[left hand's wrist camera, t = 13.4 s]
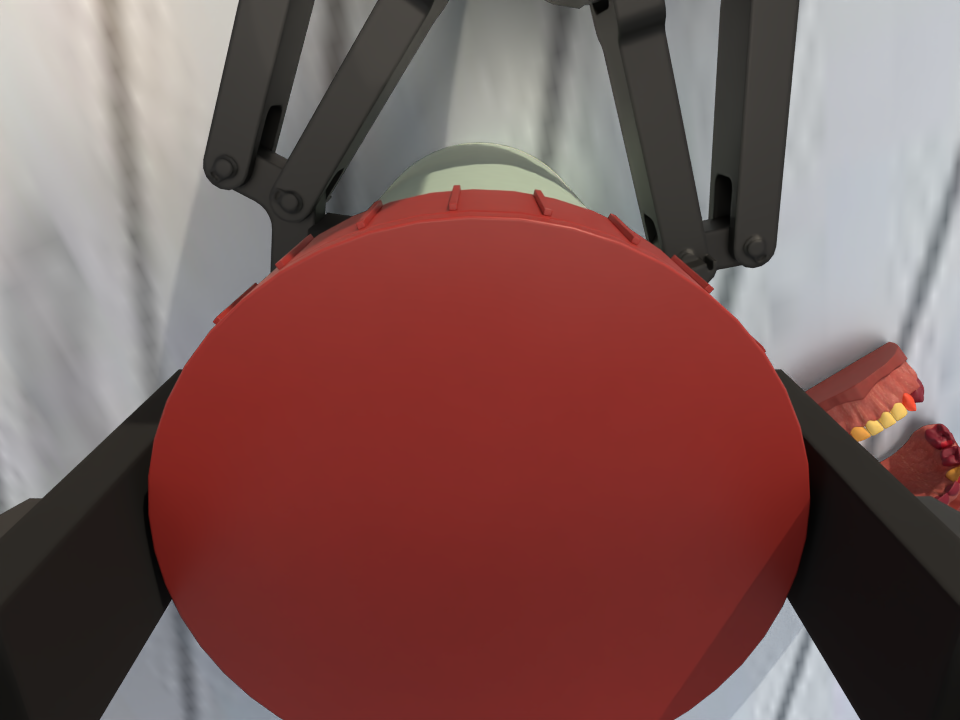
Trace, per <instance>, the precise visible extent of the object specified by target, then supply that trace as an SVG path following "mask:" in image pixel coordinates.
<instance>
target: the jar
mask: <svg viewBox="0 0 960 720" xmlns="http://www.w3.org/2000/svg"><path fill="white" fill-rule="evenodd" d="M454 185H460V187H461V190H467V189H482V190H505V191H517V192H522V193H528V194H533V195H534V190H535V189H537V190H541V191H542V193H543V195H544V196H545V197H550V198H555V199H558V200H561V201H564V202H567V203H570V204H573V205H576V206H580V207H583V208H586V207H585V206H584V204H583V203H582V202H581V201H580V200H579V199H578V198H577V196H576V195H575V194H574V193H573V192H572V191H571V190H570V188H569V187H568V186H567V185H566V184H565V183H564V182H563V180H562V179H561V178H560V177H559V176H558V175H557V174H556V173H555V172H554V171H553V170H551V169H550V168H549V167H548V166H547V165H545V164H544V163H542V162H541V161H539V160H538V159H536V158H535V157H533V156H531V155H529V154H527V153H525V152H523V151H520V150H517V149H514V148H511V147H508V146H504V145H498V144H493V143H466V144H459V145H455V146H450V147H446V148H444V149H441V150H438V151H436V152H433V153H431V154H429V155H427V156H426V157H424V158H422V159H420V160H418V161H417V162H416V163H414V164H413V165H412V166H410V167H409V168H408V169H407V170H405V171H404V172H403V173H402V174H401V175H400V176H399V177H398V178H397V179H396V180H395V182H394V183H393V184H392V185H391V186H390V187H389V188H388V190H387V191H386V192H385V193H384V194H383V195H382V196H381V197H380V199H379V200H381V201H382V204H383V205H384V204H386V203H389V202H392V201H397V200H401V199H405V198H410V197H414V196H419V195H423V194H428V193H433V192H445V191H452V190H453V186H454ZM379 200H378V201H379ZM586 209H587V208H586Z"/></svg>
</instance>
